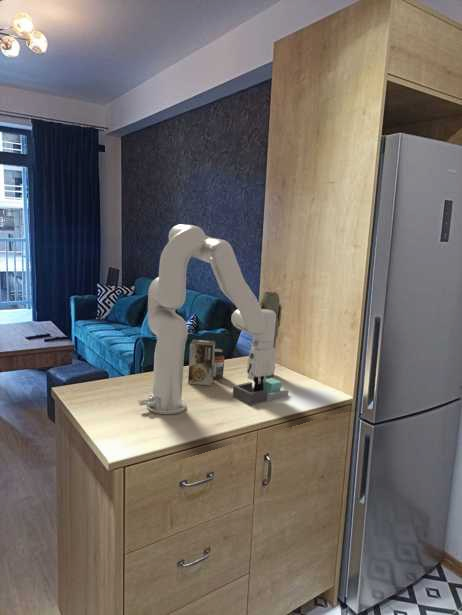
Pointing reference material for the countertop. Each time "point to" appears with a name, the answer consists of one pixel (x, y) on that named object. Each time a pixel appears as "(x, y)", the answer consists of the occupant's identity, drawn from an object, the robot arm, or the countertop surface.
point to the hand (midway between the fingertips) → (258, 392)
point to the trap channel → (255, 394)
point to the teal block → (272, 385)
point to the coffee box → (201, 362)
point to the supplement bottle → (218, 364)
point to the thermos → (272, 303)
